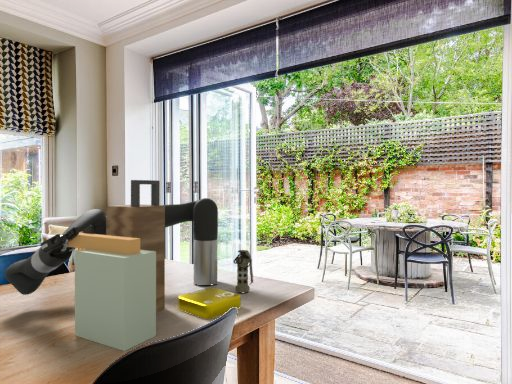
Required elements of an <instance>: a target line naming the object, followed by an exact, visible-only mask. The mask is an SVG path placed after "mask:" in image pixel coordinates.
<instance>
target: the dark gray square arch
mask: <svg viewBox="0 0 512 384" xmlns="http://www.w3.org/2000/svg"><path fill="white" fill-rule="evenodd" d="M141 185H151V186H150V189H151V190H150V192H151V193H150V199H151V200H150V205H151V206H160V204H161V203H160V199H161V197H160V190H161V189H160V187H161V186H160V185H161V184H160V180H153V179H152V180H151V179H149V180H148V179H147V180H146V179H145V180H143V179H130V205H131V207H140V204H141V201H140V200H141V196H140V195H141V194H140V193H141V190H140V189H141V187H140V186H141Z"/></svg>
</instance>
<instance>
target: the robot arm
mask: <svg viewBox="0 0 512 384" xmlns="http://www.w3.org/2000/svg"><path fill="white" fill-rule="evenodd" d="M164 205H165V229H166V228H169V227H172V226H175V225H178V224H182V223H187V222H193V227H192V230H193V284H194V285H195V284H197V285H196V286H198V285H211V284H217V285H218V236H219V235H218V234H219V233H218V231H219V229H218V228H219V227H218V226H219V225H218V224H219V220H218V218H219V208H218V206H217V205H218V204H217V203H216V202H215V201H214V200H213V199H211V198H208V197H207V198H206V197H204V198H201V199H197V200H194V201H190V202H185V203H180V204H179V203H178V204H176V203H175V204H164ZM79 233H89V234H100V235H106V212H104V210H103V209H99V208H94V209H92V208H91V209H89V210H87V211H85V212H83V213H81V215H80V216H78V218H77V219H76V220H75V221H74V222H72V223H71V224H70V225H69V226H68V228H66V230H64V231H63V232H62V234H60V233H59V234H55V235H53V236H51V237H50V238H48V239H46V240H44V241H42V242H41V243H40V247H39V248H38V249H37V250H36V251H34V253H33V254H32V255H30V257H28V258H25V259H21V260H18V261H16V262H13V263H12V264H10V265H8V266H7V267H6V269H5V271H4V278H5V279H6V280H7V281H8V283H10V285H12V286H13V287H14V289H16V291H17V292H18V293H19V294H21V295H27V296H28V295H31V294H33V293H34V292H36V291H37V290H38V289H39V288H40V286H41V285H42V283H43V282H44V280H45V279H46V277H47V276H48V275H49V274H50V272H52V271H55V270H56V269H58V267H60V266H62V265H63V264H64V263H65V262H67V261H68V260H69V259H70V258H71V257H72V255H73V252H74V251H75V250H76V249H77V248H74V247H67V246H68V245H69V244H68V243H69V242H70V240H72V239H73V238H75V237H76V236H77V235H78V234H79ZM211 286H212V285H211Z"/></svg>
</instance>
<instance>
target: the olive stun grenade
mask: <svg viewBox="0 0 512 384" xmlns="http://www.w3.org/2000/svg"><path fill="white" fill-rule="evenodd" d="M237 253H239V254H238V255H236V257H235V258H234V259H233V263H234V264H235V265H236V267H237V269H236V270H237V271H236V273H237V276H236V281H237V282H236V286H235V292H236V291H237V293H238V292H247V291H248V292H250V291H249V290H251V289H250V288H251V287H250V285H252V283H254V274H253V273H254V271H253V259H252V255H251V254H250V252H249V250H248V249H240V250H238V251H237ZM248 274H250V283H249V275H248ZM248 292H247V293H248Z"/></svg>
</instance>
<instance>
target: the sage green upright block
mask: <svg viewBox="0 0 512 384" xmlns="http://www.w3.org/2000/svg"><path fill="white" fill-rule="evenodd" d="M74 336H76V337H79V338H82V339H84V340H85V339H86V340H88V341H92V342H95V343H98V344H100V345H104V346H107V347H110V348H114V349H116V350H120V351H122V352H126V351H127V350H130V349H133V348H134V347H136V346H138V345H140V344H142V343H145V342H147V341H148V340H151V339H152V338H155V337H157V311H156V251H148V250H140V253H135V254H130V255H127V254H120V253H112V252H105V251H98V250H90V249H78V250H74Z"/></svg>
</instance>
